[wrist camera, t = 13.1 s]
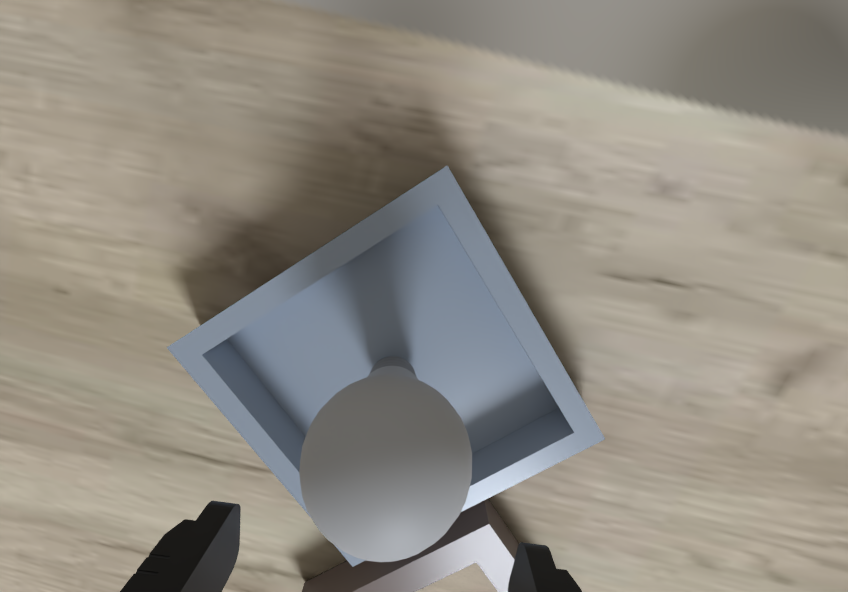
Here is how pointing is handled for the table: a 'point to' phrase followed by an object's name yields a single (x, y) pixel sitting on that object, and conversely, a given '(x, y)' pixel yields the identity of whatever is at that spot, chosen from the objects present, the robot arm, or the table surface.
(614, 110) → the table surface
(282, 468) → the tray
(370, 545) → the lightbulb
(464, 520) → the brownish grey square frame
